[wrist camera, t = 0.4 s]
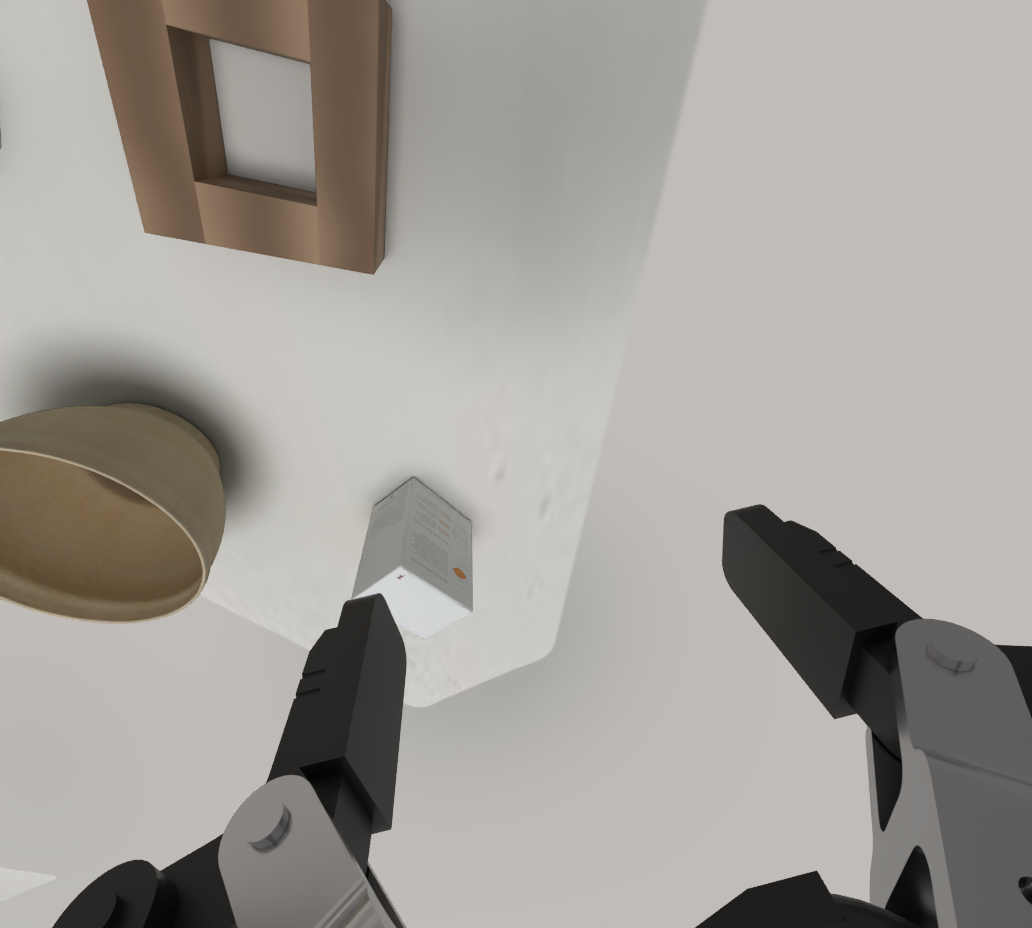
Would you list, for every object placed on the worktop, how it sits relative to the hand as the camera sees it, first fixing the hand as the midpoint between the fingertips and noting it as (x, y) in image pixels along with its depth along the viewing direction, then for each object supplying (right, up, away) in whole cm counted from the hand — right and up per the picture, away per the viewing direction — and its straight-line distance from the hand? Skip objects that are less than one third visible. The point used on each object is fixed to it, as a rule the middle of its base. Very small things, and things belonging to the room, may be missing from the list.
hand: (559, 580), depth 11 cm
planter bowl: (-31, +4, +27) cm, 41 cm away
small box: (-10, -2, +33) cm, 35 cm away
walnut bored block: (-14, +22, +15) cm, 30 cm away
